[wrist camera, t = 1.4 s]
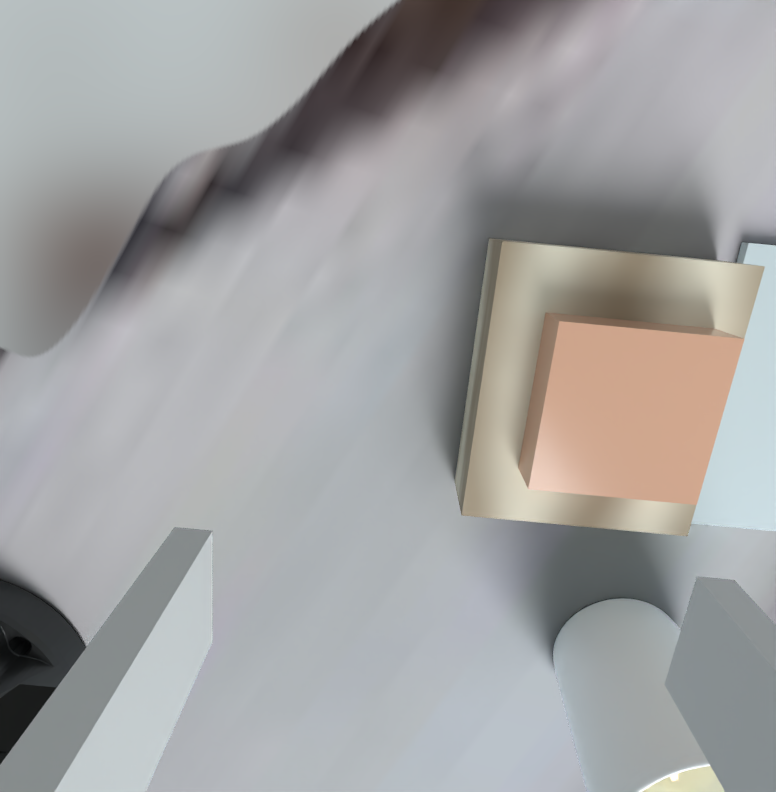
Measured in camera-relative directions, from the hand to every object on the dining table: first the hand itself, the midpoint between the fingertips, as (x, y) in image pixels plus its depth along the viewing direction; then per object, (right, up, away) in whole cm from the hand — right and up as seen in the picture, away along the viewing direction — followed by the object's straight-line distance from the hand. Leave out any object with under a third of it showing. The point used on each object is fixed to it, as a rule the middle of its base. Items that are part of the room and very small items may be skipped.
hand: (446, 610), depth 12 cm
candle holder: (+14, -12, +25) cm, 31 cm away
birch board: (+9, +5, +20) cm, 23 cm away
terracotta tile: (+10, +4, +16) cm, 19 cm away
